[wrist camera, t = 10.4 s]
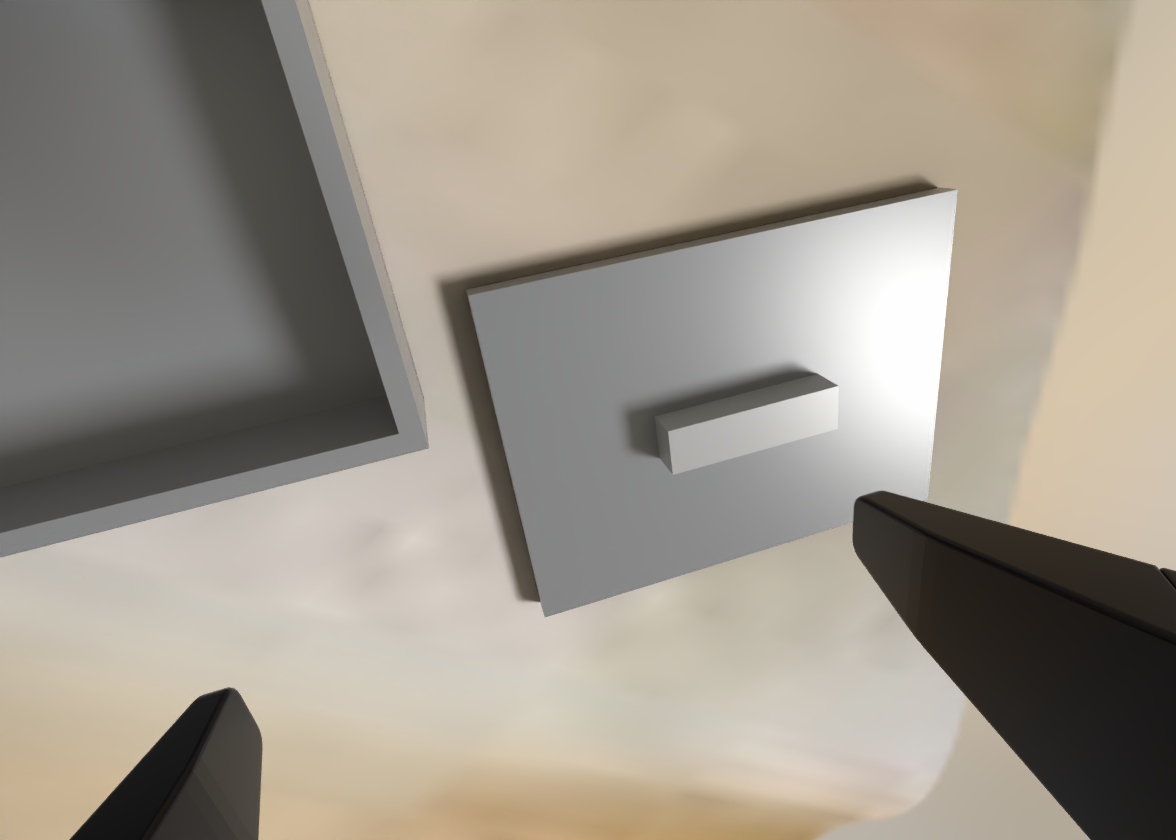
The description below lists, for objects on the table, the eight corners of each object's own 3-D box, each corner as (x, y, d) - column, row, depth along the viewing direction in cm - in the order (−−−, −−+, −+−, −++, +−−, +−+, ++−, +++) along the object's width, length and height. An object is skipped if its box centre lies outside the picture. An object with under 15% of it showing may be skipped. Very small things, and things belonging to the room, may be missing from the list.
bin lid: (540, 603, 24) (551, 640, 22) (465, 289, 19) (472, 306, 17) (913, 489, 27) (949, 514, 25) (939, 187, 22) (987, 192, 20)
